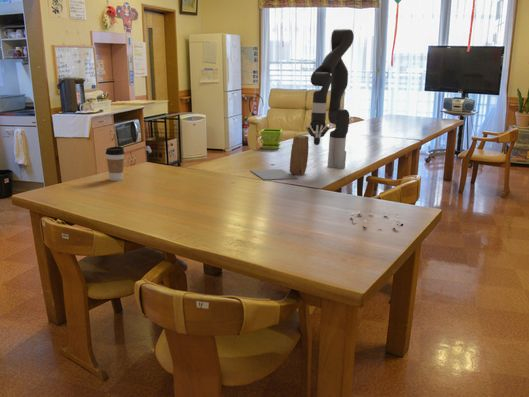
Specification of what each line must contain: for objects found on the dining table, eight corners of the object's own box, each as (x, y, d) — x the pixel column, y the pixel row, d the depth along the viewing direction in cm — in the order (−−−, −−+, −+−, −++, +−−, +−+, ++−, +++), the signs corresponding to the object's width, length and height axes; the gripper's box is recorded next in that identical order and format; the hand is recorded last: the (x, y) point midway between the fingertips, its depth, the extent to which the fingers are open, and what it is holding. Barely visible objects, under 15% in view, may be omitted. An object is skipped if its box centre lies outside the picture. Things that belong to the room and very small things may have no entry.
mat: (281, 170, 266) (281, 169, 265) (297, 178, 246) (297, 177, 245) (250, 171, 259) (250, 170, 259) (264, 180, 239) (264, 179, 239)
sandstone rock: (301, 176, 251) (305, 137, 246) (287, 173, 254) (291, 135, 249) (307, 173, 261) (311, 136, 256) (294, 171, 263) (298, 134, 259)
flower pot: (262, 146, 347) (263, 128, 343) (282, 147, 345) (282, 129, 342) (259, 149, 333) (260, 130, 330) (279, 150, 331) (280, 131, 328)
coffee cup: (129, 178, 231) (128, 147, 228) (117, 182, 224) (115, 149, 220) (115, 176, 235) (114, 145, 231) (102, 179, 227) (101, 148, 224)
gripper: (326, 111, 258) (324, 143, 262) (304, 110, 254) (302, 143, 258) (333, 112, 251) (330, 145, 256) (310, 112, 247) (308, 146, 251)
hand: (316, 144), depth 257 cm, fingers closed
